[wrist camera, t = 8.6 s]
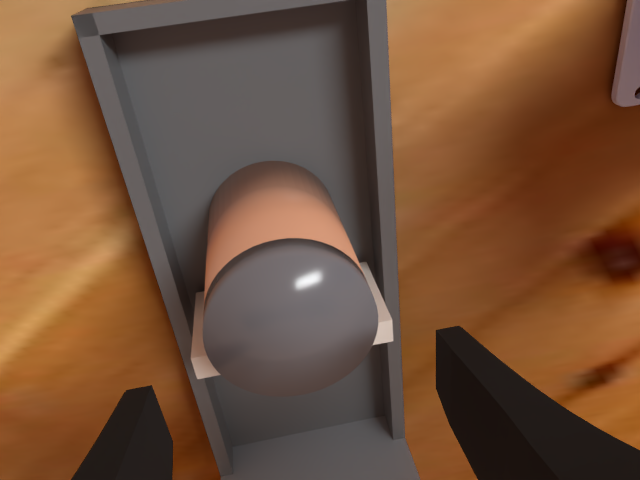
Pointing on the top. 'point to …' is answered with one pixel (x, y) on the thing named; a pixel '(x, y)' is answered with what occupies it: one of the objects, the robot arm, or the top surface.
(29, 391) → the top surface
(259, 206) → the jar
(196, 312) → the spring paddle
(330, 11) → the tray
